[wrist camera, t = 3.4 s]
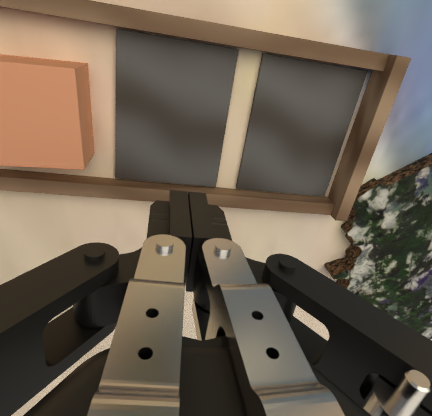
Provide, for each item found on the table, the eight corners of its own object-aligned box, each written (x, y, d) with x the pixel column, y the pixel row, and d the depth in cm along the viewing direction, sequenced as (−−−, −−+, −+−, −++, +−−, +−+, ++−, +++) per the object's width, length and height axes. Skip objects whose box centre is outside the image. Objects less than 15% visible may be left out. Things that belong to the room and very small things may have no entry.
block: (-15, 52, 23) (-47, 56, 20) (88, 62, 24) (74, 68, 21) (5, 146, 26) (-20, 164, 23) (94, 151, 27) (84, 169, 24)
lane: (-400, -87, 18) (-540, -116, 14) (391, 55, 26) (424, 59, 23) (-259, 161, 24) (-331, 183, 21) (335, 208, 33) (354, 229, 30)
